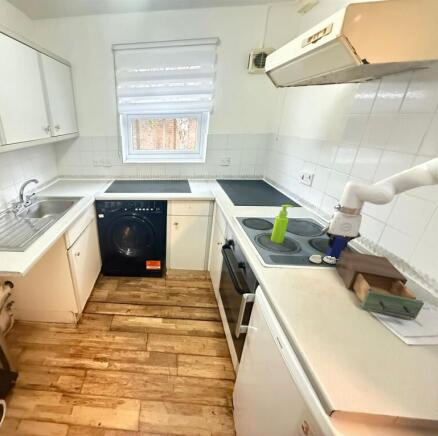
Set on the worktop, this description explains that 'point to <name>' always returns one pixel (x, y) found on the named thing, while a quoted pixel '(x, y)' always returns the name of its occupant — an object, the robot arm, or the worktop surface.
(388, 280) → the drawer
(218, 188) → the worktop surface
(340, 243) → the box
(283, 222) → the soap dispenser
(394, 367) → the worktop surface
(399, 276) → the cabinet
